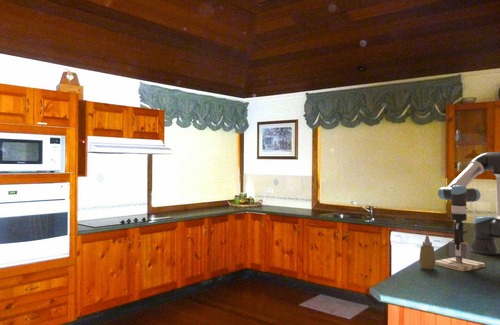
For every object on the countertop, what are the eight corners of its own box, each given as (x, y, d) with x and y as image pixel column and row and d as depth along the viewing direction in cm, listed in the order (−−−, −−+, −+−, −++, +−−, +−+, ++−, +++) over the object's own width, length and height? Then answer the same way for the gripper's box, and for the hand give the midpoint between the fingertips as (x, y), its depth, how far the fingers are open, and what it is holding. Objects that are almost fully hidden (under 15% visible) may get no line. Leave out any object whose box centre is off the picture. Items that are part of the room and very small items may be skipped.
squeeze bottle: (426, 270, 210) (426, 236, 210) (415, 267, 217) (415, 234, 217) (438, 269, 212) (438, 236, 212) (428, 266, 219) (428, 233, 220)
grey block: (448, 255, 224) (448, 240, 224) (452, 255, 226) (452, 240, 226) (466, 259, 216) (466, 243, 216) (469, 258, 217) (469, 243, 218)
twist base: (456, 260, 233) (456, 252, 233) (484, 266, 218) (484, 258, 218) (433, 264, 223) (433, 256, 223) (462, 271, 208) (462, 262, 208)
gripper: (463, 215, 211) (463, 258, 211) (468, 212, 226) (468, 252, 226) (448, 214, 216) (448, 256, 216) (454, 211, 230) (454, 250, 230)
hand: (458, 254), depth 221 cm, fingers closed on grey block, 5 cm apart
